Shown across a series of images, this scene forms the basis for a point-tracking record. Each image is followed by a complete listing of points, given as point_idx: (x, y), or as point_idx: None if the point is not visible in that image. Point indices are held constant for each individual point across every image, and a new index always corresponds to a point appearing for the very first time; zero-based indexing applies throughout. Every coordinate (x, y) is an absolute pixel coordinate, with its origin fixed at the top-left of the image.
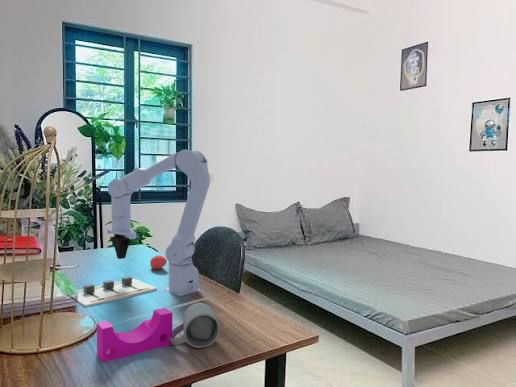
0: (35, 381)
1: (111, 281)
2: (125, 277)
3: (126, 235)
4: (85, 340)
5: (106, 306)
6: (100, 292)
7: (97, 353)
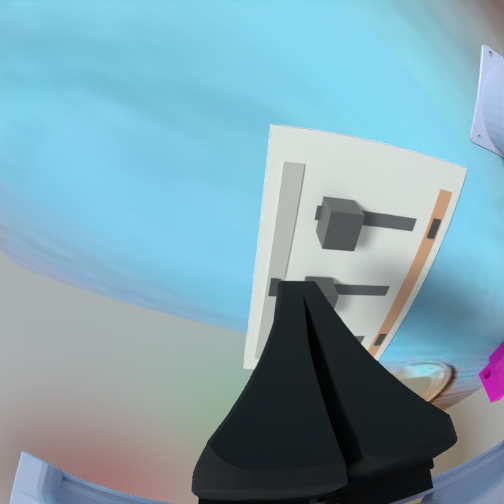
0: (451, 405)
1: (330, 303)
2: (334, 234)
3: (439, 492)
4: (454, 379)
5: (410, 334)
6: None
7: (479, 374)
